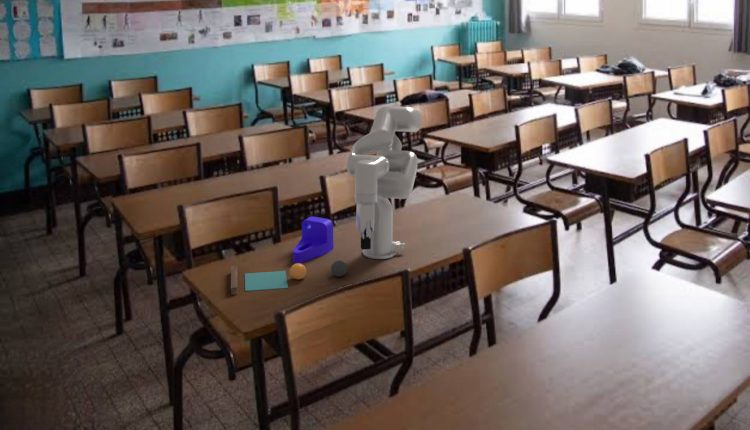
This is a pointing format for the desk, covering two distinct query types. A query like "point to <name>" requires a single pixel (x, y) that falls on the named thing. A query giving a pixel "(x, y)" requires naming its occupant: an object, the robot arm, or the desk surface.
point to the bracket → (314, 239)
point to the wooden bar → (234, 280)
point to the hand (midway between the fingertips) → (365, 248)
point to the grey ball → (338, 268)
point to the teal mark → (265, 281)
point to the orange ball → (298, 271)
